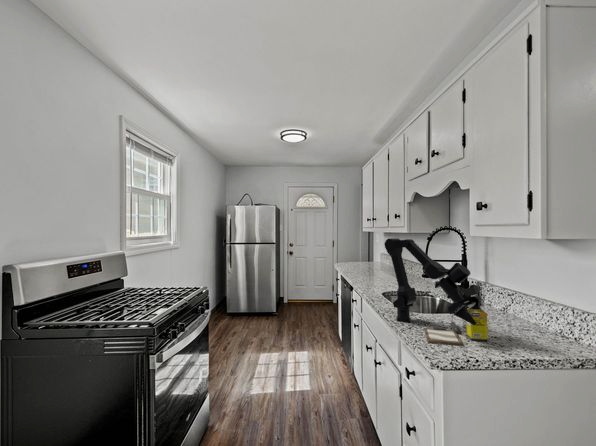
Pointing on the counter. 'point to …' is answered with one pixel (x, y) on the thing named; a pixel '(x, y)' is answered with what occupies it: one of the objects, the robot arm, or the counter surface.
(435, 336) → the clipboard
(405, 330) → the counter surface
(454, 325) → the dark grey rod
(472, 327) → the supplement box
